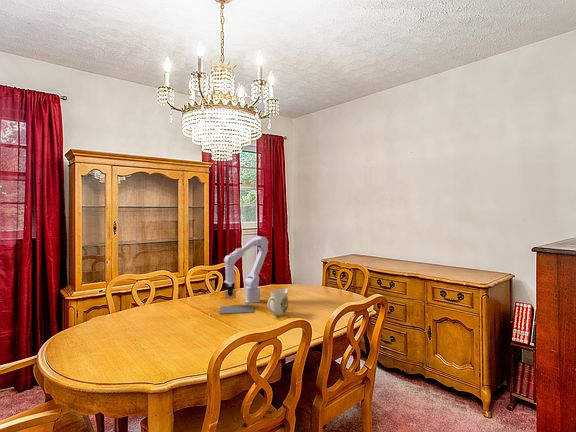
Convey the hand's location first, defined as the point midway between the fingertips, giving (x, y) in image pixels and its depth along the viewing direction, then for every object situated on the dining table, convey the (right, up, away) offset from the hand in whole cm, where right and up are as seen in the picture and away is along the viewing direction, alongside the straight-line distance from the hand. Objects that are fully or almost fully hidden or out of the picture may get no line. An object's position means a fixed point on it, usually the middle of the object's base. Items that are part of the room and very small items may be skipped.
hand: (230, 295), depth 219 cm
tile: (0, -2, 0) cm, 2 cm away
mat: (+5, -7, -10) cm, 13 cm away
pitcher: (+31, -7, -18) cm, 37 cm away
